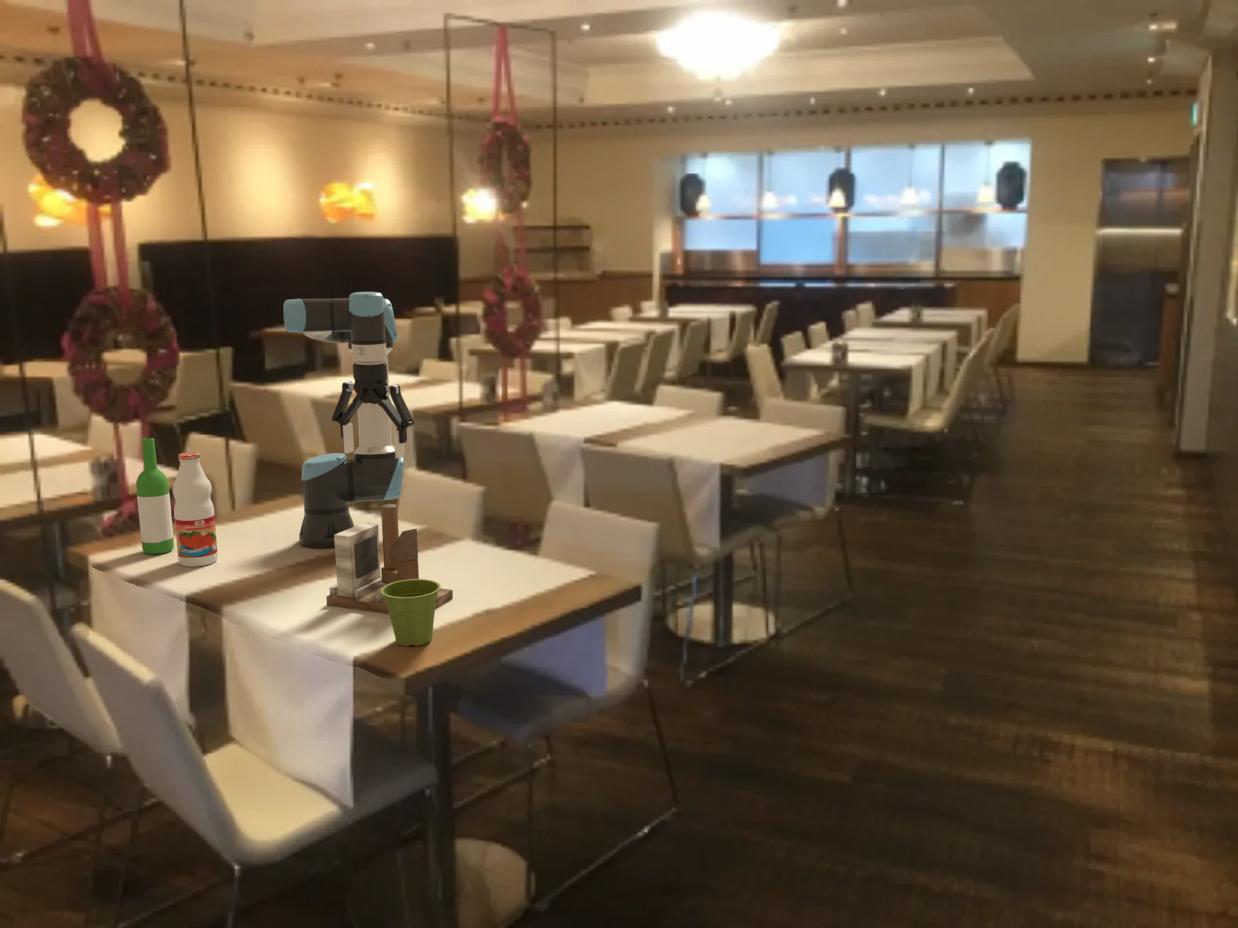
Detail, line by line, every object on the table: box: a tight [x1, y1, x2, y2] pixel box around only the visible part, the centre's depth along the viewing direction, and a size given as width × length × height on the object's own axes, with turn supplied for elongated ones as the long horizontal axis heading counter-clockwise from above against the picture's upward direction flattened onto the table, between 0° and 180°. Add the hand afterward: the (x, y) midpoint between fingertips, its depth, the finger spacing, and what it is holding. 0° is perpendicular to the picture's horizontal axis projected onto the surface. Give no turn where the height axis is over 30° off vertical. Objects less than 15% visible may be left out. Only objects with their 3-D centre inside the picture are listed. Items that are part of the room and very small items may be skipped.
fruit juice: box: [172, 451, 219, 568], centre depth 273 cm, size 9×9×28 cm
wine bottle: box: [135, 437, 175, 555], centre depth 282 cm, size 8×8×30 cm
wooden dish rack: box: [325, 522, 454, 615], centre depth 243 cm, size 14×24×16 cm, turn 68°
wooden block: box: [380, 503, 420, 585], centre depth 241 cm, size 4×11×18 cm, turn 41°
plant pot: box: [381, 578, 441, 647], centre depth 219 cm, size 12×12×11 cm
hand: (374, 454), depth 248 cm, fingers open, 13 cm apart
